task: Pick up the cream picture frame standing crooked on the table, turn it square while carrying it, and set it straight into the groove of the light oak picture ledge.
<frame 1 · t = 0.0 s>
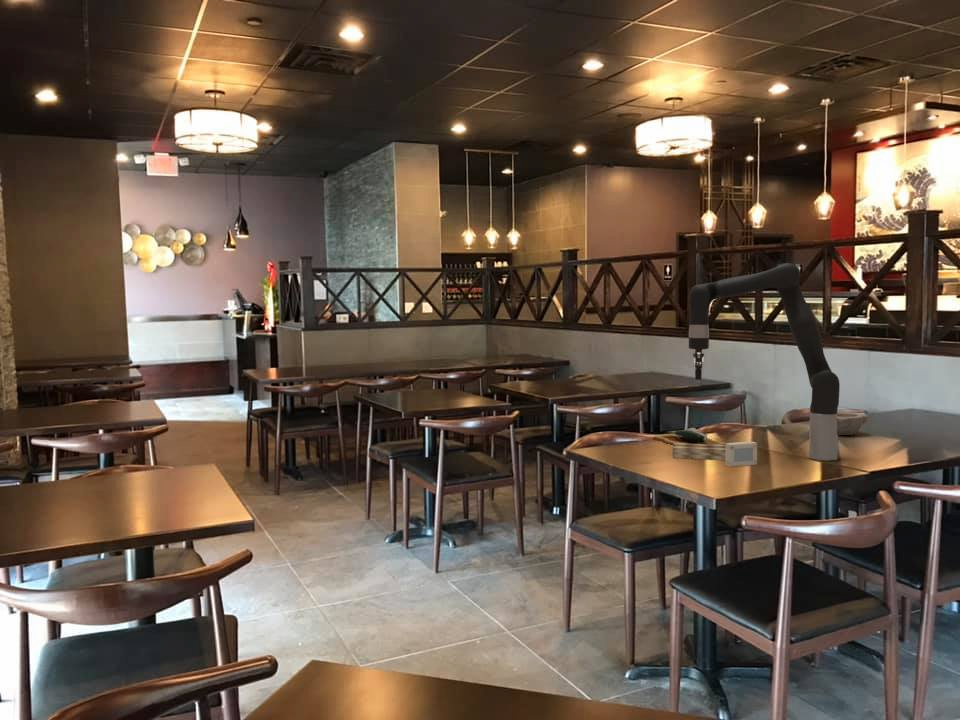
hand: (698, 378, 289), 29 cm above the table, fingers open, 8 cm apart
picture ledge: (711, 457, 284), on the table
decorative plaque: (689, 444, 312), on the table
picture frame: (740, 464, 271), on the table
mortar: (842, 434, 329), on the table
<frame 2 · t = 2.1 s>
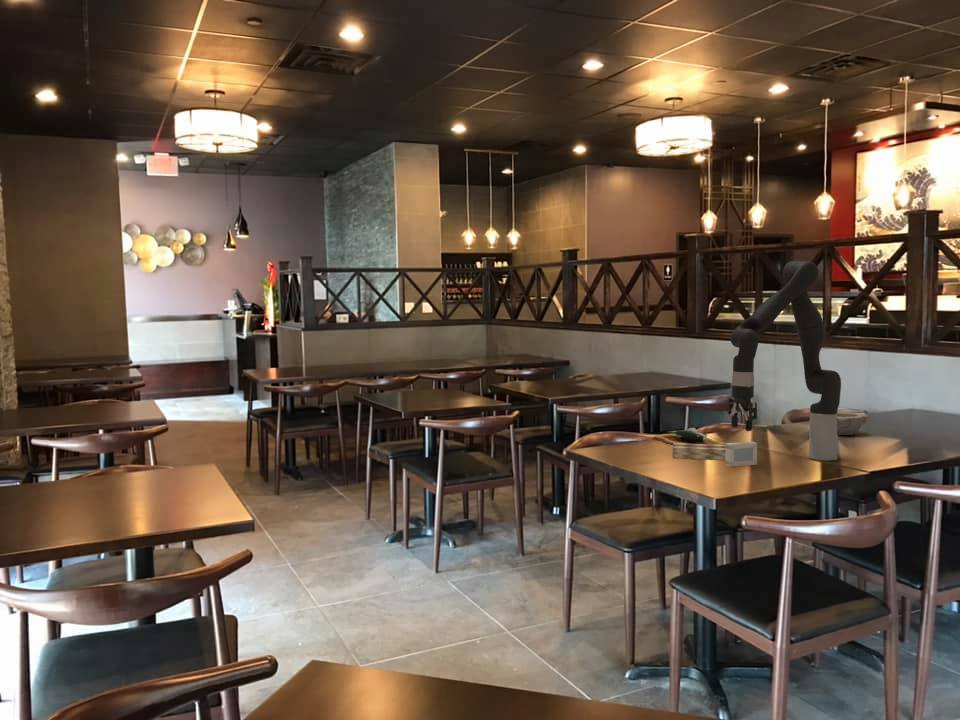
hand: (741, 429, 269), 13 cm above the table, fingers open, 8 cm apart
nothing on the table moved.
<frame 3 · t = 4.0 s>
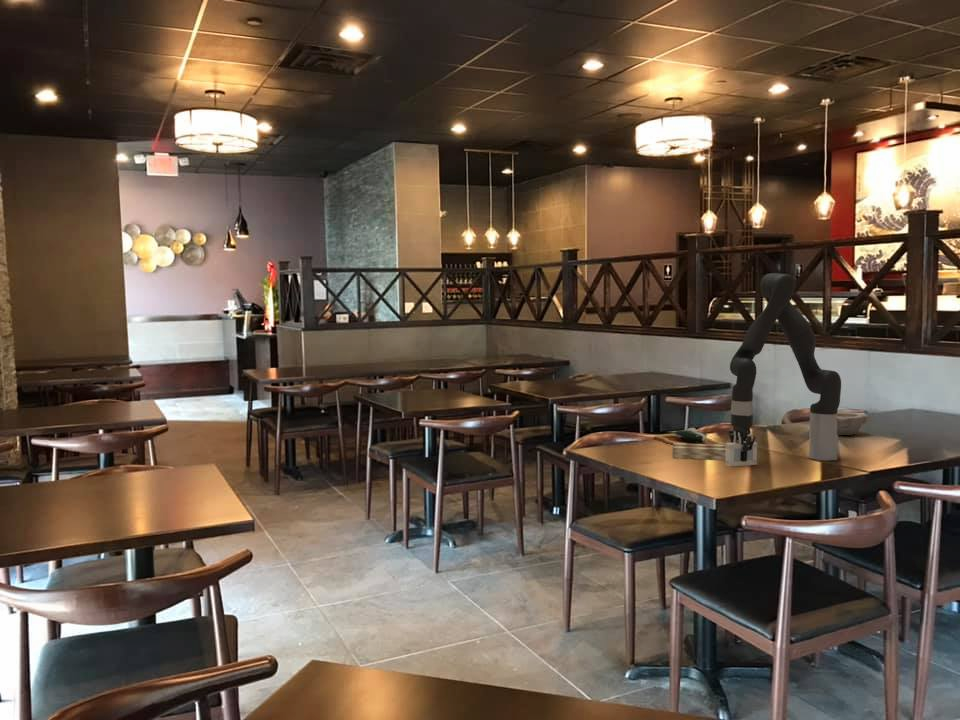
hand: (741, 460, 270), 2 cm above the table, fingers closed on picture frame, 2 cm apart
picture frame: (740, 464, 271), on the table, touching gripper
everything else where it was.
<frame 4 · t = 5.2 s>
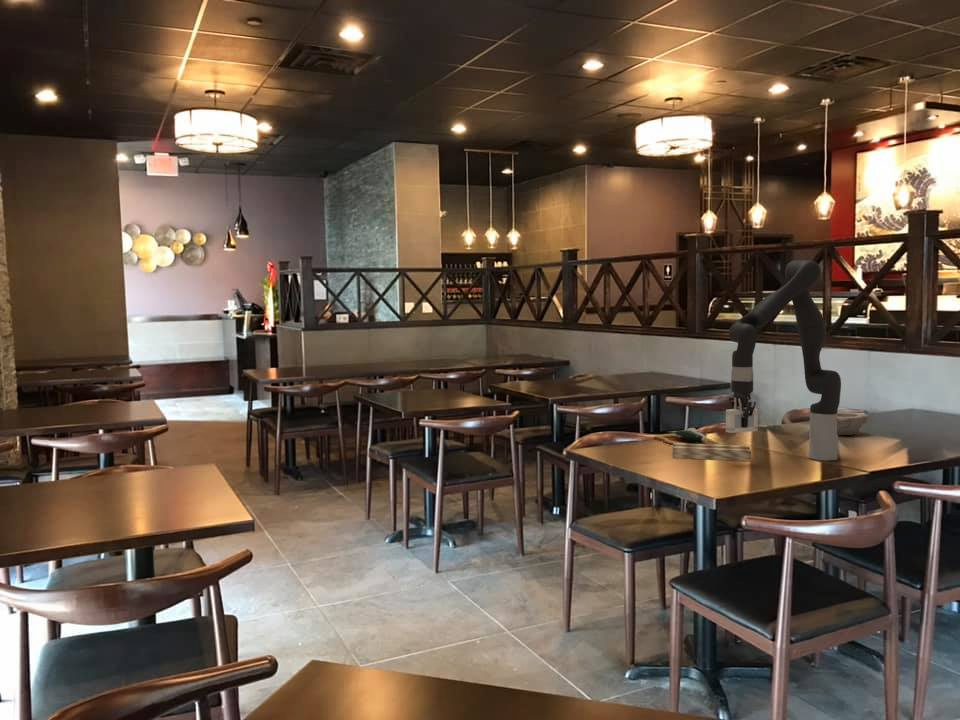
hand: (741, 426, 270), 14 cm above the table, fingers closed on picture frame, 2 cm apart
picture frame: (741, 431, 270), point 12 cm above the table, touching gripper
everything else where it was.
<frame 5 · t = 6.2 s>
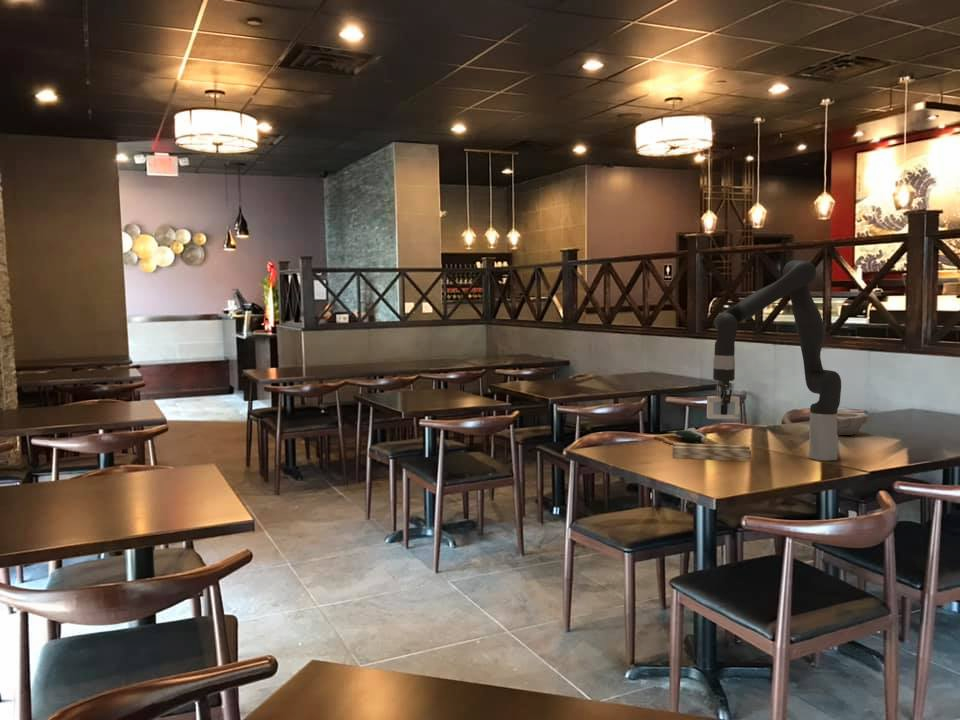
hand: (722, 413, 277), 17 cm above the table, fingers closed on picture frame, 2 cm apart
picture frame: (722, 418, 277), point 16 cm above the table, touching gripper
everything else where it was.
when the fingers open (5 cm above the table, at t = 8.7 s): picture frame drops 1 cm, resting on picture ledge.
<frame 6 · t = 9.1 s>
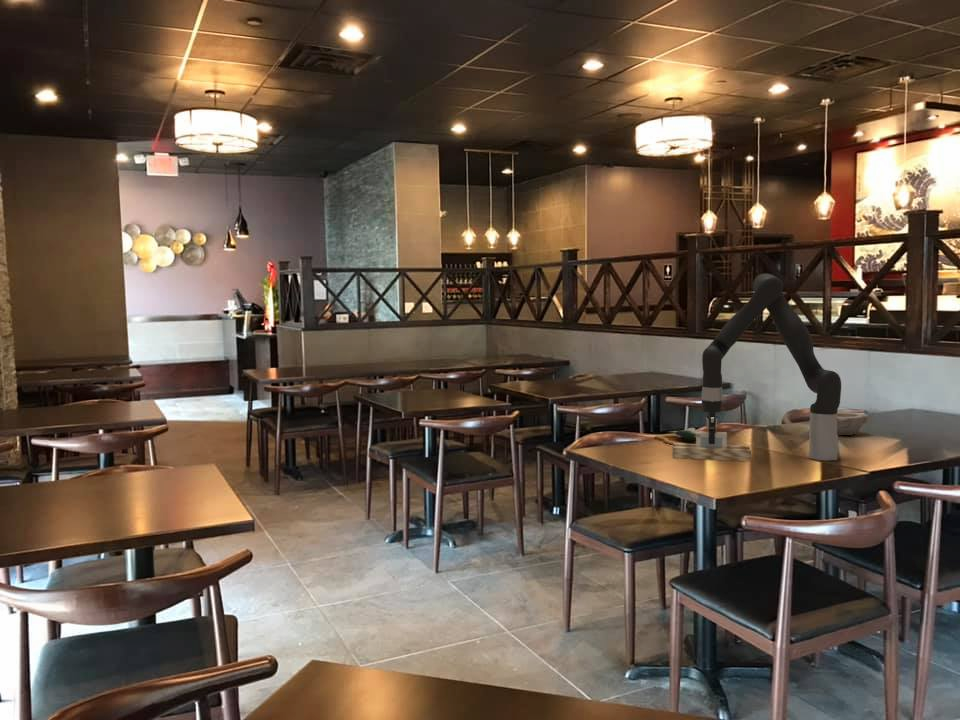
hand: (711, 441, 283), 6 cm above the table, fingers open, 7 cm apart
picture frame: (711, 453, 284), point 1 cm above the table, touching picture ledge
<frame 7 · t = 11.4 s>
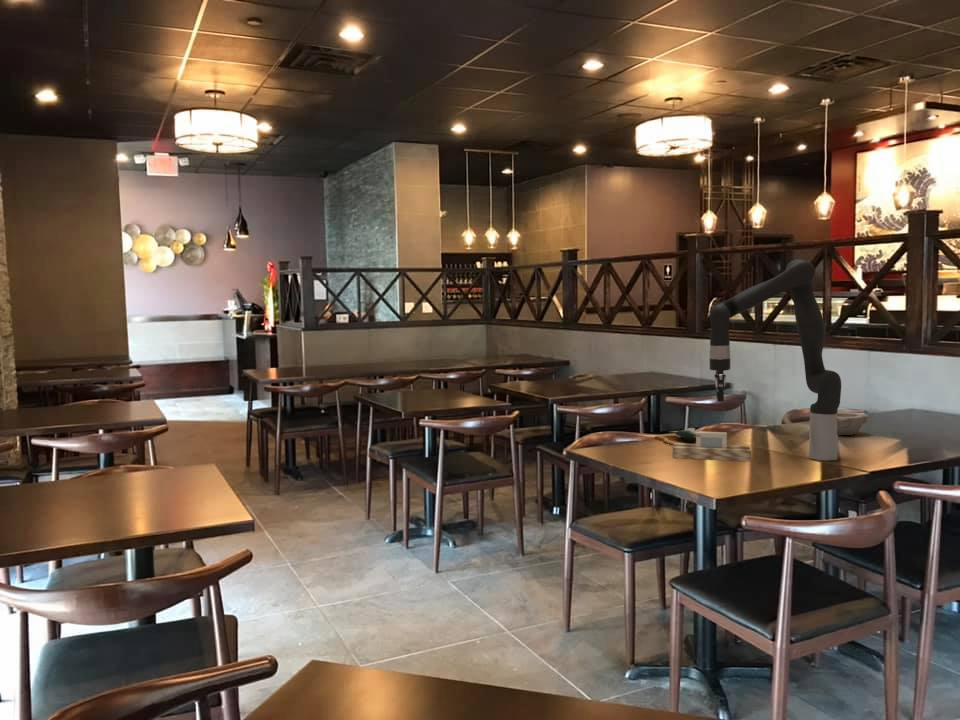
hand: (720, 399, 284), 22 cm above the table, fingers open, 8 cm apart
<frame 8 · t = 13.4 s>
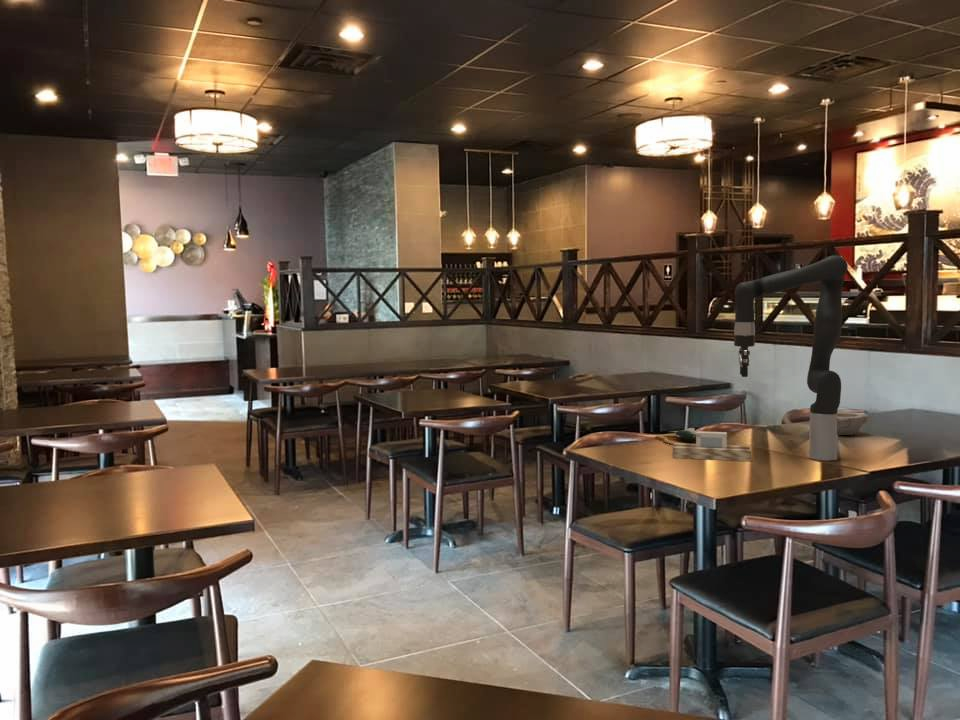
hand: (743, 375, 290), 30 cm above the table, fingers open, 8 cm apart
at the end: picture frame inside the target area on the picture ledge (0.1 cm from its centre), point 1.5 cm above the picture ledge's base; picture frame tilted 0°; the gripper is holding nothing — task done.
